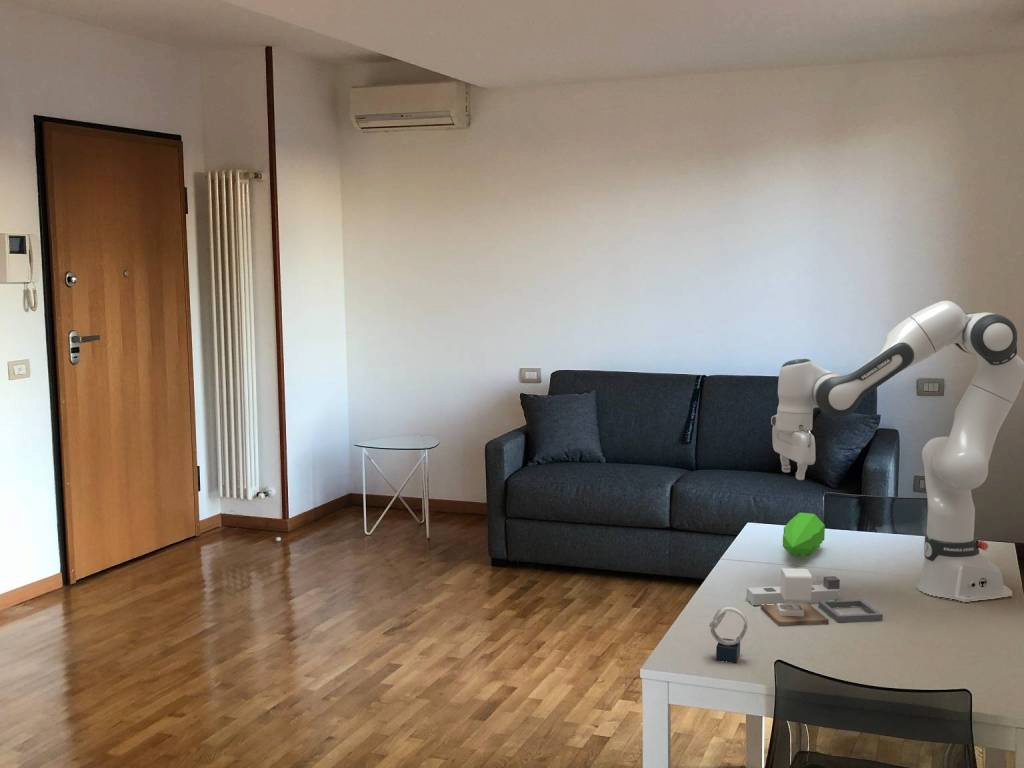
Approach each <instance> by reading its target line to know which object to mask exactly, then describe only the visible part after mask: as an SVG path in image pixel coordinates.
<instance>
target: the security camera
mask: <svg viewBox="0 0 1024 768" xmlns="http://www.w3.org/2000/svg"><path fill="white" fill-rule="evenodd" d="M812 576H813V575H812V574H811V572H810V571H809V569H808V568H790V567H789V568H782V567H781V568H780V586H781V587H780V592H781V595H782V597H783V599H784V601H786V600H787V601H788V602H789V603H790V604H786V603H777V610H778V612H779V614H780V616H804V610H803V608H802V607H801V605H800V604H796V603H795V602H794V601H793V600H808V601H811V594H812V585H813V577H812Z"/></svg>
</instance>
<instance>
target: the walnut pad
mask: <svg viewBox="0 0 1024 768" xmlns="http://www.w3.org/2000/svg"><path fill="white" fill-rule="evenodd" d="M797 604H800V605H801V607H802V608H803V610H804V616H780V614H779V612H778V610H777V604H774V605H761V606H760V610H761V609H762V610H763V611H764V612H763V611H762V612H763V613H764V614H765V615H767V617H769V618H770V619H771V620H772V621H773V622H774V623H775V624H776V625H777V626H778V627H788V626H790V627H791V626H807V625H808V626H810V625H812V626H813V625H829V621H830V620H829V618H827V617H826V616H825V615H823V614H822V613H821V612H820V611H819V610H818V609H816V608H815V607H814V606H812V605H811V603H797Z"/></svg>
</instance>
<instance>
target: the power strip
mask: <svg viewBox="0 0 1024 768" xmlns="http://www.w3.org/2000/svg"><path fill="white" fill-rule="evenodd" d="M822 577H823V578H822V580H823V581H822V584H812V594H811V601H808V600H793V601H794V602H795V603H796V604H797V603H809V604H819V601H829V600H834V601H837V600H840V588H841V587H840V585H841V584H840V583H841V579H840V578H839V577H837V576H836V575H830V576H828V575H827V576H822ZM780 587H781V585H780V586H779V585H778V586H758V587H757V586H755V587H752V586H751V587H746V598H745V599H746V600H747V601H748V600H749V601H750V602H751V603H752V604H753V605H762V604H764V605H767V604H777V603H786V604H790V603H789V602H788V601H787V600H786V601H784V599H783V597H782V595H781V592H780ZM749 601H748V602H749ZM750 602H749V603H750ZM751 603H750V604H751ZM752 604H751V605H752ZM753 605H752V606H753Z"/></svg>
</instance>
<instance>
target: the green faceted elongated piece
mask: <svg viewBox="0 0 1024 768" xmlns="http://www.w3.org/2000/svg"><path fill="white" fill-rule="evenodd" d="M825 530H826V524H825V523H823V522H822V520H821V519H820V518H819V517H818V516H817V515H816V514H815V513H809V512H799V513H797V514H796V515H795V516H794V517H793V518H790V520H789V521H788V522H787V523H786V525H784V527H783V535H782V547H783V548H784V550H785V551H786V552H787V553H788V555H790V556H794V557H800V558H803V557H805V556H810V555H811V554H813V553H814V552H815V551H816V550H817V549H818V548H820V547H821V544H822V543H823V542H824V541H825V533H826V531H825Z"/></svg>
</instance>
